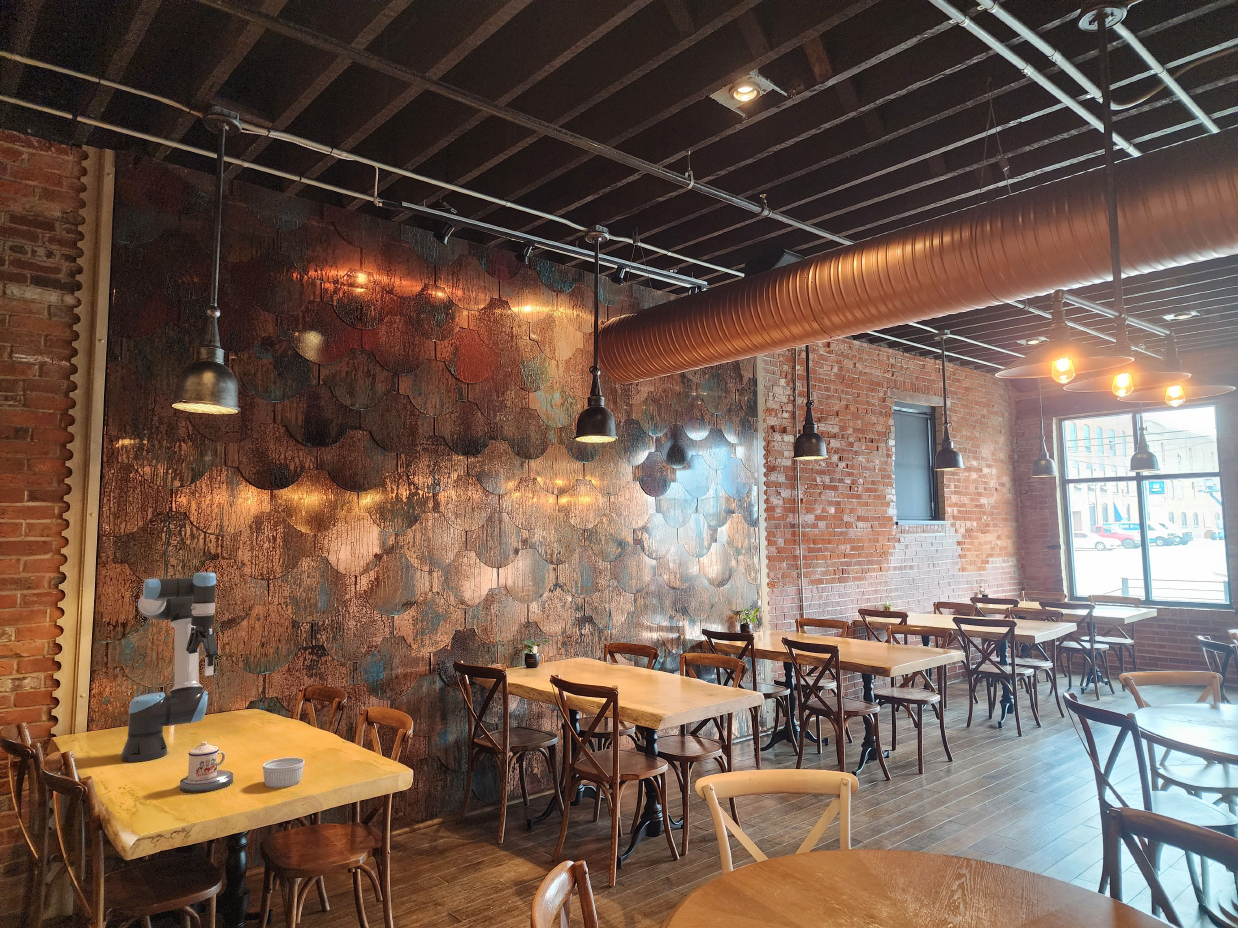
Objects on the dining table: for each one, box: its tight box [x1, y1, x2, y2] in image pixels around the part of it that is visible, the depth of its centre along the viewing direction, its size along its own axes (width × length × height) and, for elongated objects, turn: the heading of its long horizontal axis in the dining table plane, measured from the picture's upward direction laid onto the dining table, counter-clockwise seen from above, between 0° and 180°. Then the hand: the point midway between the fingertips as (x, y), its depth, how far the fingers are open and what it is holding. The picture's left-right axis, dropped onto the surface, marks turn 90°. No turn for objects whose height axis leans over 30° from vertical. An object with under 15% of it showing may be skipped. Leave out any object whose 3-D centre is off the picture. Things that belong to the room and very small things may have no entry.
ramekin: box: [262, 756, 306, 789], centre depth 259 cm, size 13×13×7 cm
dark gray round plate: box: [179, 769, 234, 794], centre depth 257 cm, size 16×16×3 cm
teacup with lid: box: [187, 741, 226, 781], centre depth 258 cm, size 12×9×12 cm
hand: (200, 673), depth 276 cm, fingers open, 13 cm apart
